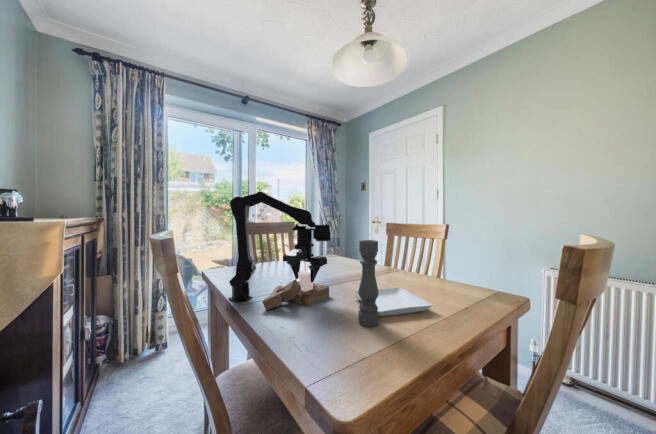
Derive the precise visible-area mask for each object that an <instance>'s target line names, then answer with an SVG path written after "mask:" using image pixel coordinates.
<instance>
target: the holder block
mask: <svg viewBox="0 0 656 434" xmlns="http://www.w3.org/2000/svg"><path fill="white" fill-rule="evenodd" d="M297 283H298V285H299V289H298V291H297V293H296V296H295V298H294V299H292V300H290V301H289V302H293V303H296V304H300V305H301V306H302V305H303V306H306V307H309V306H312V305H314V304H316V303H318V302H321V301H322V300H325V299H326V298H329V297H330V286H328V285H324V284H319V283H315V282H313V289H311V290H308V291H306V292H305V291H301V286H300V280H298V281H297ZM284 286H285V285H283V286H282V287H284ZM282 287H280V288H279V289H281V288H282ZM283 300H284V298H283Z"/></svg>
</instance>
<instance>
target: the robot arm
mask: <svg viewBox="0 0 656 434" xmlns="http://www.w3.org/2000/svg"><path fill="white" fill-rule="evenodd" d="M259 204H264V205H267V206H268V207H271V208H273V209H275V210H277V211H280V212H281V213H284V214H286V215H288V216H289V217H290V218H292V219H293V220H294V221H296V222H297V223H298V224H295V225H294V227H293V228H292V231H296V240H297V241H296V243H294V248H293V249H291V250H289V251H288V252H286V253H284V254H283V256H282V262H286V264H287V265H289V266H290V268H291V270H292V273H293V276H294V278H295V279H296V280H298V279H299V275H298V272H299V271H300V269H301V264H302V263H301V262H304V261H305V263H306V262H307V263H309V264H310V265H308V268H309V270H310V271H311V282H313V283H315V282H314V281H315V279H316V277H317V275H318V272H319V271H320V269H321V267H324V266H325V265H328V258H327V257H326V256H320V255H317V256H315V255H314V253H312V247H314V245H315V244H314V243H312V239H313V240H315V242H331V228H330V223H329V224H328V223H326V224H316V222H314V221H313V217H312V214H311V212H310V211H309V210H306V209H303V208H301V207H296V206H292V205H289V204H287V203H285V202H283V201H281V200H280V199H277V198H274V197H272V196H270V195H268V194H266V193H265V192H263V191H258V192H256V193H253V194H248V195H245V196H235V197H233V198H232V199H231V200H230V208H231V209H230V210H231V212H232V213H231V214H232V216H233V218H234V220H235V229H236V242H237V257H238V258H237V262H236V267H235V275H234V276H233V277H232V278H231V279H230V280H229V285H230V286H231V297H228V300H229V301H232V302H235V303H242V302H244V301H247V300H250V299H252V298H253V296H252V295H250V283H249V281H250V278H251V277H252V276H253V275H254V274H255V271H256V270H257V266H256V258H252V256H251V253H250V237H249V225H248V223H249V222H248V219H249V214H250V208H251V207H254V206H256V205H257V206H258V205H259ZM299 224H300V225H299ZM307 226H308V228H307ZM312 237H313V238H312ZM295 279H294V280H295Z"/></svg>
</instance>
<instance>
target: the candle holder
mask: <svg viewBox="0 0 656 434" xmlns="http://www.w3.org/2000/svg"><path fill="white" fill-rule="evenodd" d="M358 244H359V245H358V247H359V249H358V252H359V253H360V256H361V259H360V260H359V263H360V264H361V267H362V268H361V273H362V274H361V279H360V283H359V287H358V291H359V296H360V298H361V302H360V304H359V308H358V312H357V313H358V318H357V319H358V324H359V326H361V327H365V328H375V327H378V325H380V323H379V321H380V318H379V317H380V316H379V312H378V311H377V310H378V306H377V305H376V303H375V302H376V299H377V298H378V295H379V291H378V289H379V288H378V283H377V278H376V265H377V264H378V260H376V258H377V255H378V252H379V241H378V240H373V239H365V240H363V239H362V240H361V239H360V240H359V243H358Z"/></svg>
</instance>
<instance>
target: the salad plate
mask: <svg viewBox="0 0 656 434" xmlns="http://www.w3.org/2000/svg"><path fill="white" fill-rule="evenodd" d="M378 291H379V295H378V298H377V299H376V302H375V303H376V305H377V306H378V310H377V311H378V312H379V317H381V316H384V317H386V316H387V317H388V316H395V315H405V314H413V313H417V312H422V311H423V312H424V311H425V310H428V309H430V308H432V307H433V304H432V303H430V302H428V301H427V300H425V299H423V298H421V297H419V296H417V295H415V294H413V293H411V292H409V291H407V290H405V289H404V288H400V287H391V288H390V287H389V288H378ZM352 293H353V295H354V297H355V298H356V299H358V300H359V301H361V298H360V296H359V290H358V291H357V290H355V291H353V292H352ZM361 302H362V301H361Z"/></svg>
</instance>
